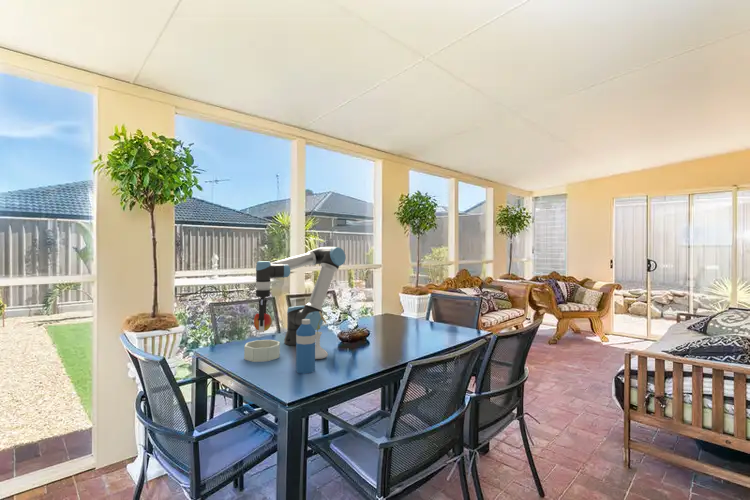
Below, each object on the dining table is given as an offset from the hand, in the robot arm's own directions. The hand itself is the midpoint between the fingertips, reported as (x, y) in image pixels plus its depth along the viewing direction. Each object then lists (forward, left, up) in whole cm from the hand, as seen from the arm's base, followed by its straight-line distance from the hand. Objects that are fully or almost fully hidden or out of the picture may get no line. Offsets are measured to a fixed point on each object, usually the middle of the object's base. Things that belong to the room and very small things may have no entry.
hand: (262, 330), depth 207 cm
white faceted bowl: (0, 0, -15) cm, 15 cm away
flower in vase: (-30, +6, -15) cm, 34 cm away
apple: (0, 0, -1) cm, 1 cm away
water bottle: (-23, +27, -15) cm, 38 cm away
